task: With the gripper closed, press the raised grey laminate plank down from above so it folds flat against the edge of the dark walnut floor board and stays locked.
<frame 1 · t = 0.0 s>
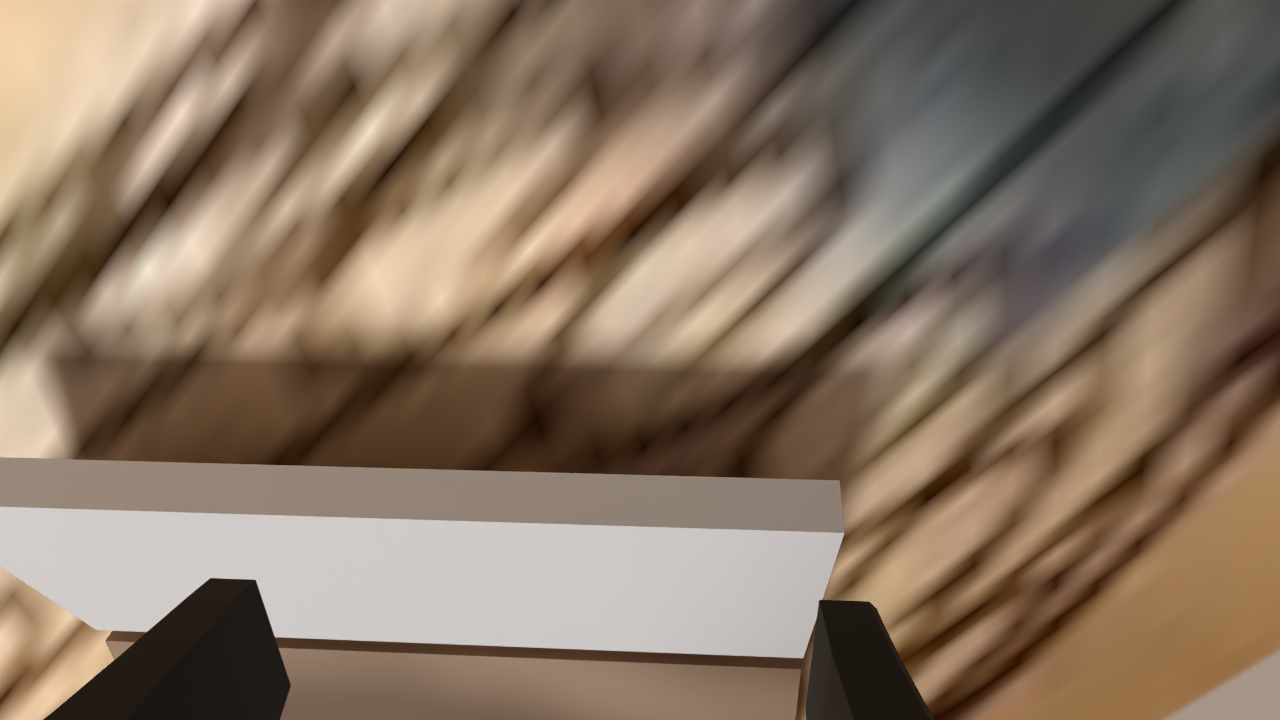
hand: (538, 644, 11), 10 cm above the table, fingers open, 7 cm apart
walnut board: (468, 699, 28), on the table
grey plank: (410, 566, 22), point 2 cm above the table, hinge at 22.0°
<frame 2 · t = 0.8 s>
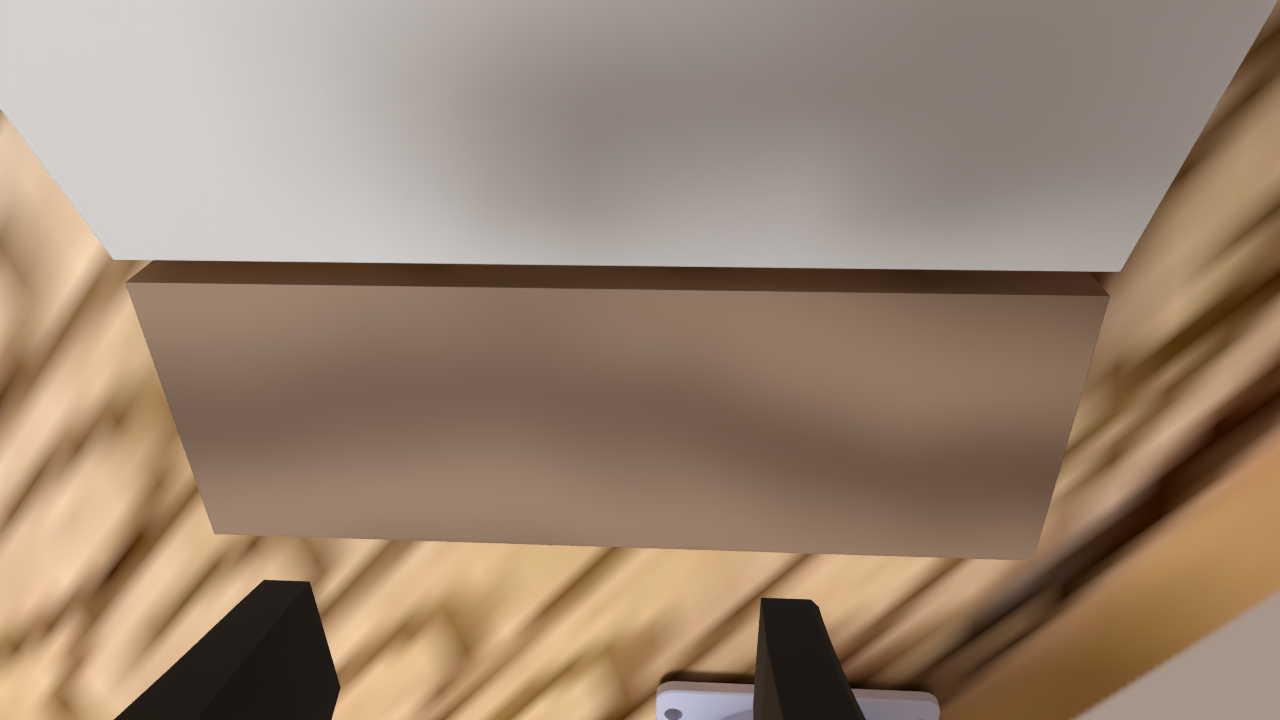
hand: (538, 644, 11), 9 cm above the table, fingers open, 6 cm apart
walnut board: (611, 399, 21), on the table
grey plank: (583, 81, 15), point 2 cm above the table, hinge at 22.0°
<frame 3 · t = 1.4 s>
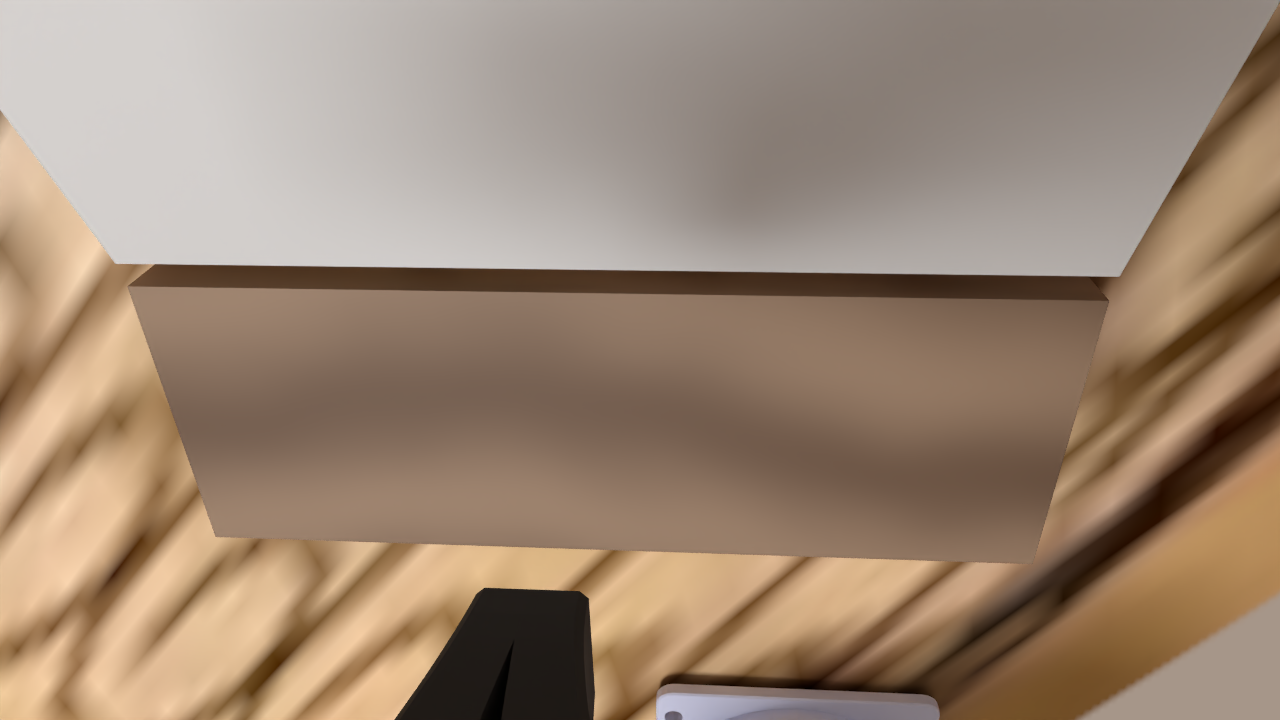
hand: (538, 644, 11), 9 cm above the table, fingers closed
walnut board: (611, 403, 21), on the table
grey plank: (584, 87, 15), point 2 cm above the table, hinge at 22.0°
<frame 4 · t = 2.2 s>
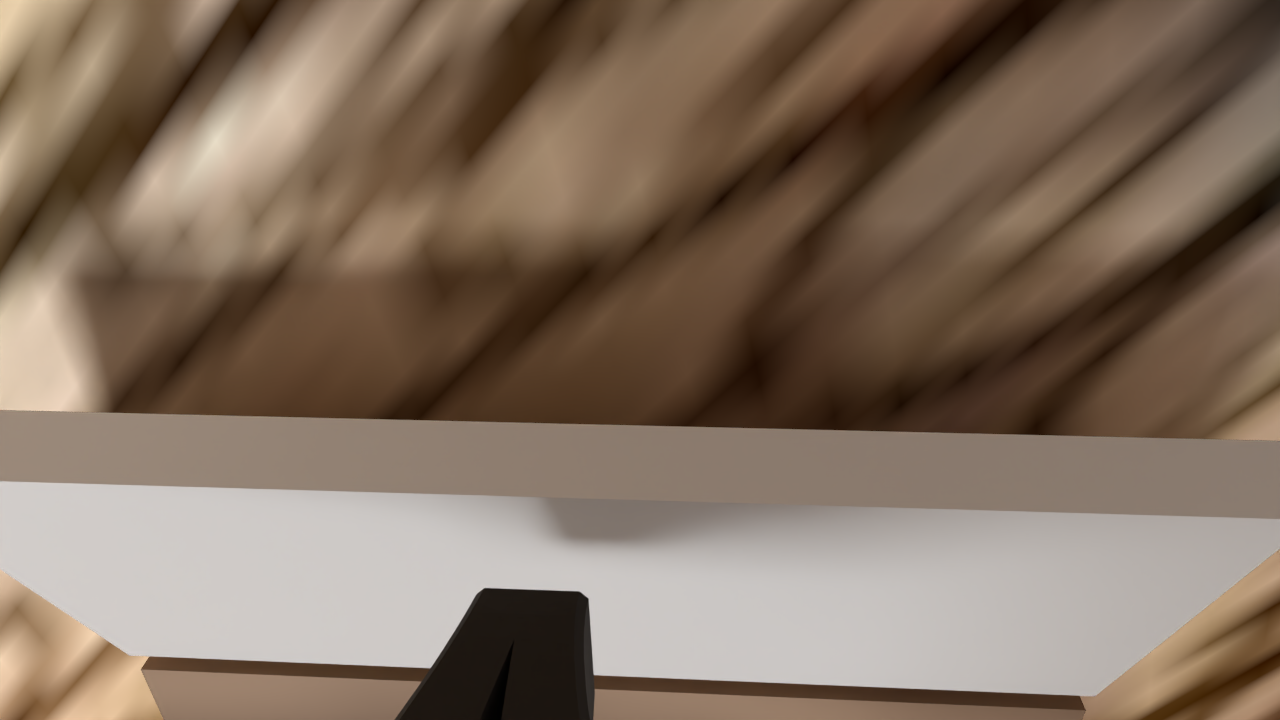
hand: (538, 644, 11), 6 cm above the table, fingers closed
grey plank: (580, 571, 16), point 2 cm above the table, hinge at 22.0°
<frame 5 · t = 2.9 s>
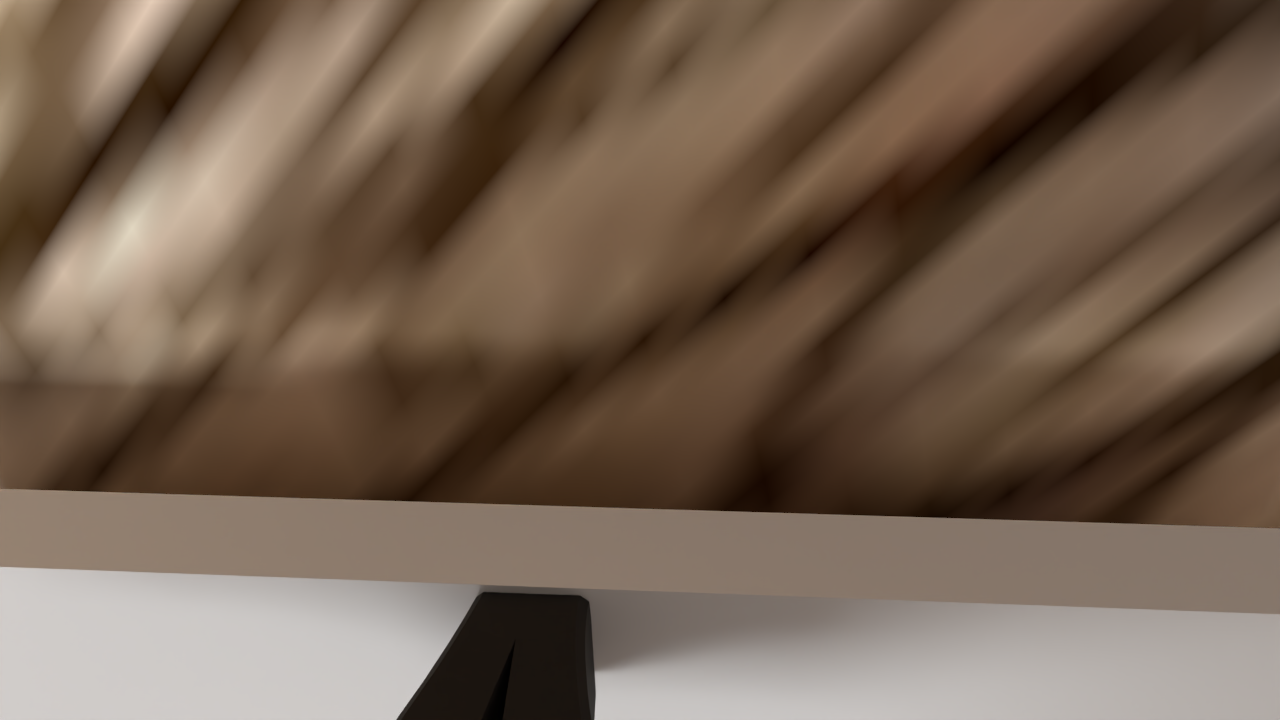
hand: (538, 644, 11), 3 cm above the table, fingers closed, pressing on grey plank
grey plank: (565, 685, 14), point 2 cm above the table, hinge at 13.8°, touching gripper
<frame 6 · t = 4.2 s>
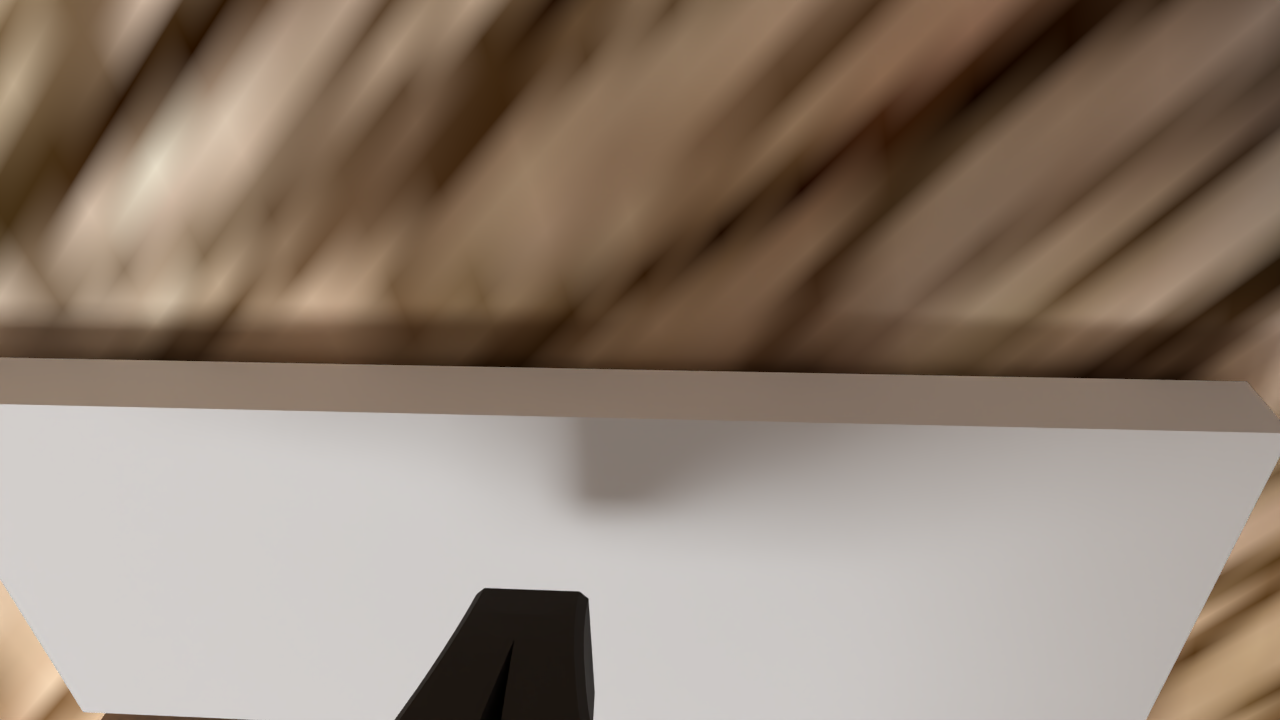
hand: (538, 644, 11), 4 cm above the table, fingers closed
grey plank: (576, 571, 15), point 1 cm above the table, hinge at 2.9°
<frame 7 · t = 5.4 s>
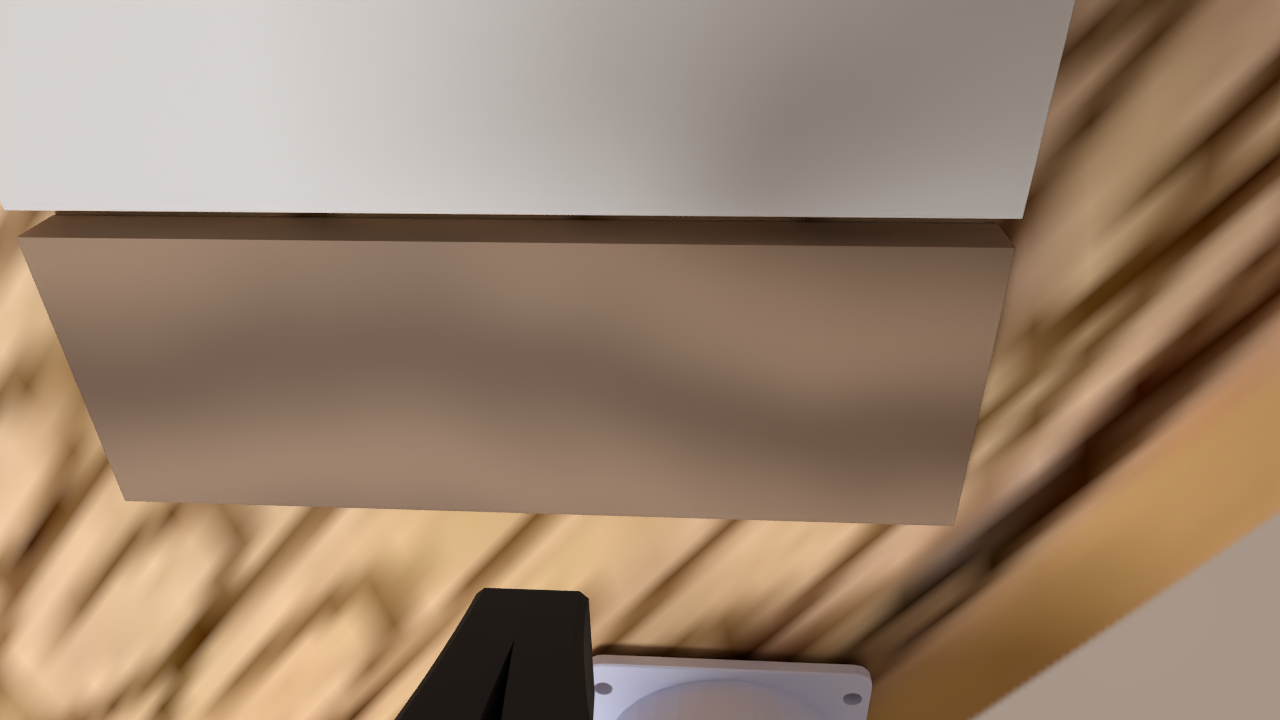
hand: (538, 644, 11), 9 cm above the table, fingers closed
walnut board: (523, 361, 20), on the table
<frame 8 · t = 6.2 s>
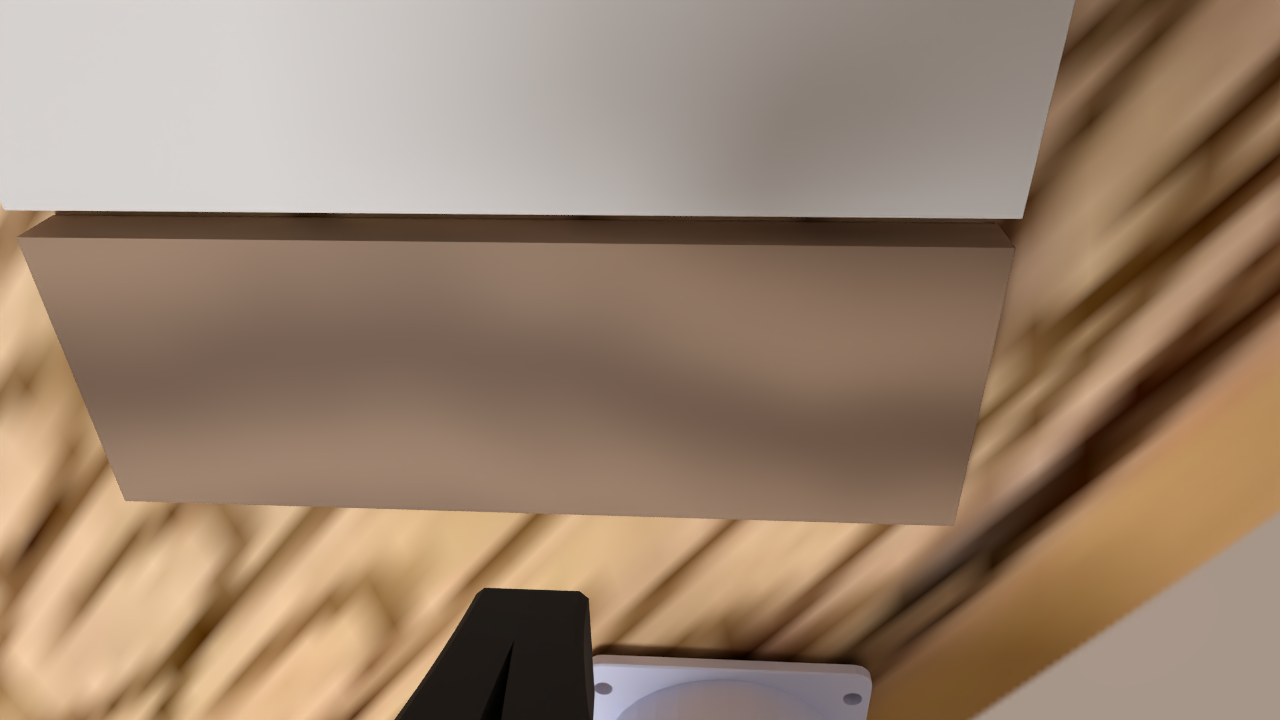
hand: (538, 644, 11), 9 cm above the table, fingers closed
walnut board: (523, 361, 20), on the table
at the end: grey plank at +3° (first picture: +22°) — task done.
